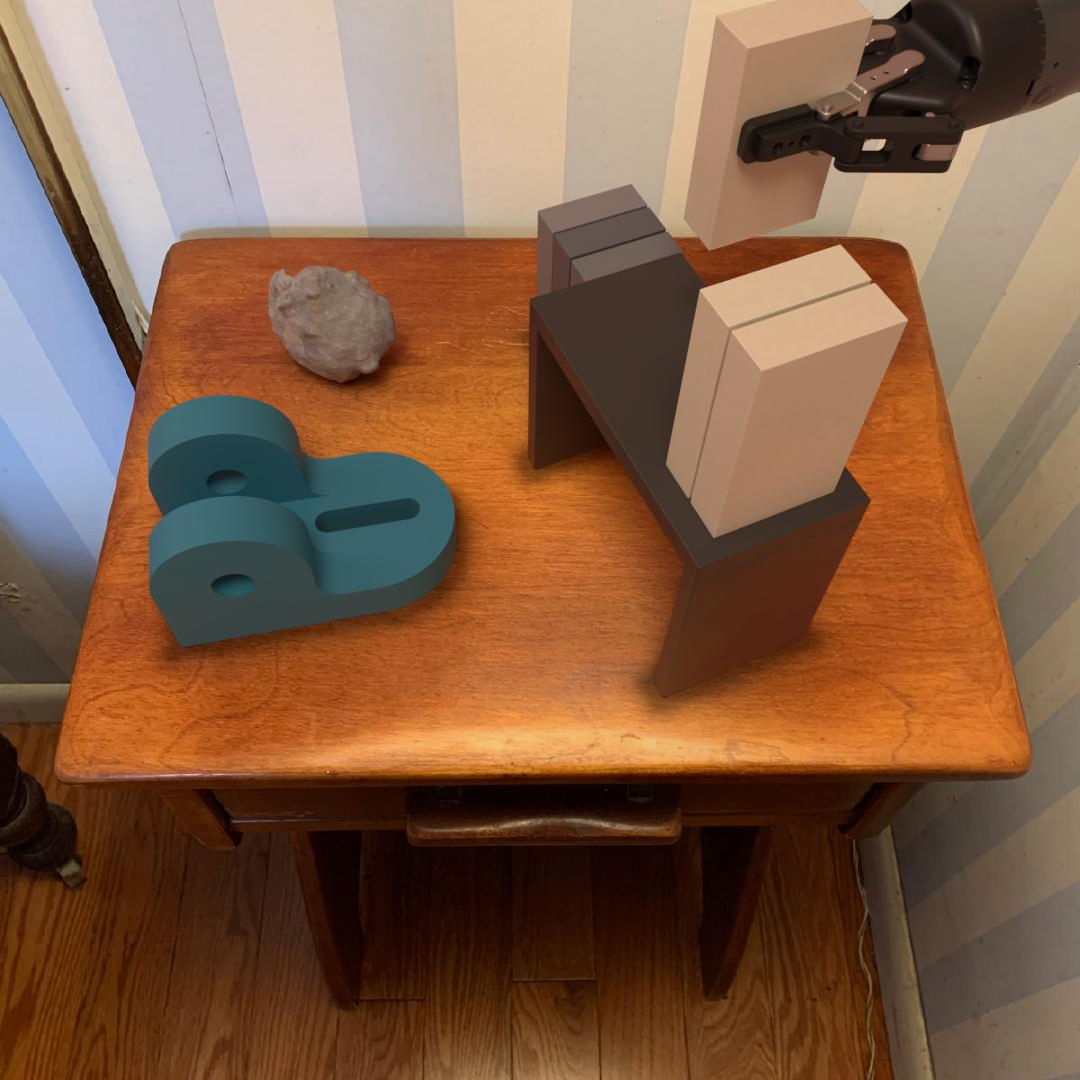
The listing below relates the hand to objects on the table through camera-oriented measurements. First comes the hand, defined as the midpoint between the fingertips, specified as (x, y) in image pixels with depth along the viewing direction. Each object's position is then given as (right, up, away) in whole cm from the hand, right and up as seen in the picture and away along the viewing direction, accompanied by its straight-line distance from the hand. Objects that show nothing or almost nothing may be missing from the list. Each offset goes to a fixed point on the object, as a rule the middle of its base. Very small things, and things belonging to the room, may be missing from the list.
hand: (726, 123), depth 53 cm
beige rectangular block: (+3, -3, +7) cm, 8 cm away
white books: (+1, -18, 0) cm, 18 cm away
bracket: (-24, -22, +15) cm, 36 cm away
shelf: (-2, -22, +15) cm, 27 cm away
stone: (-24, -9, +24) cm, 35 cm away
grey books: (-5, -8, +24) cm, 26 cm away
